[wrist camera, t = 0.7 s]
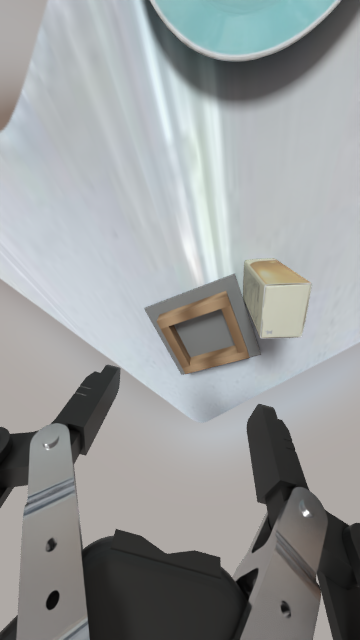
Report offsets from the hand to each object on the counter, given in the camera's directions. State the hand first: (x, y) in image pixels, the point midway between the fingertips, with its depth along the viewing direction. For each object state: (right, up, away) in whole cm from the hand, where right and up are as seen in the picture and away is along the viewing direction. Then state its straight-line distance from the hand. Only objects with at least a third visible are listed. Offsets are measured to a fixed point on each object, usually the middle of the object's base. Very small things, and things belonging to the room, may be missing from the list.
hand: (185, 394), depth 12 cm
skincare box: (+12, +11, +19) cm, 25 cm away
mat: (+4, +2, +25) cm, 25 cm away
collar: (+4, +2, +25) cm, 25 cm away
